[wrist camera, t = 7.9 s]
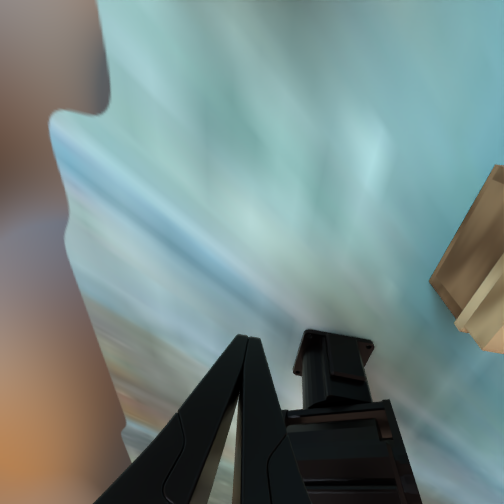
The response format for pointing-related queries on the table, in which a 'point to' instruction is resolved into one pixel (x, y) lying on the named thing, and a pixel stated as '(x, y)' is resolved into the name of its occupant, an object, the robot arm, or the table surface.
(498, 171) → the walnut box
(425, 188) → the table surface
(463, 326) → the lid
